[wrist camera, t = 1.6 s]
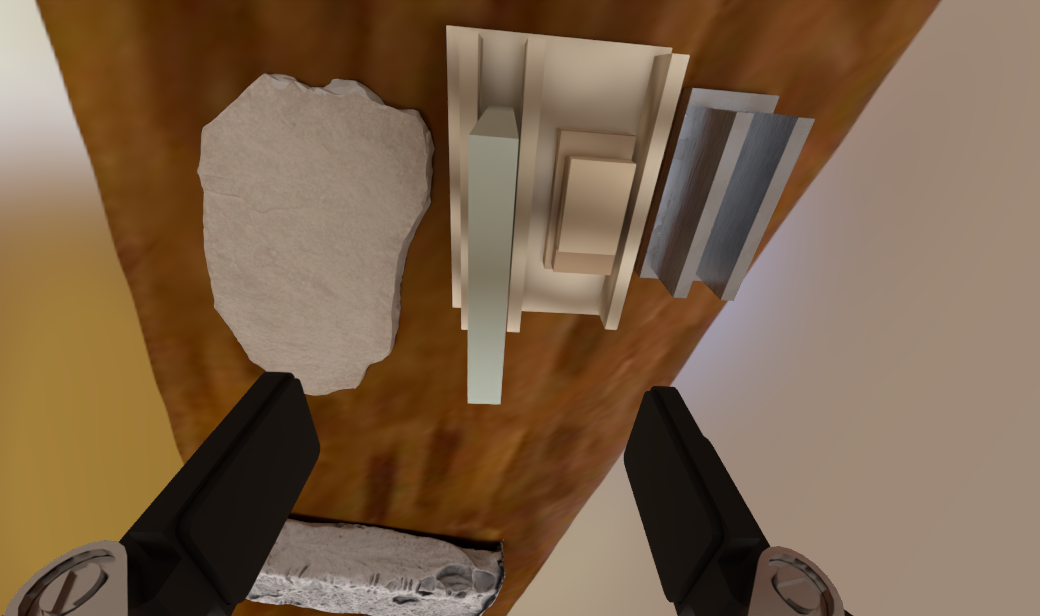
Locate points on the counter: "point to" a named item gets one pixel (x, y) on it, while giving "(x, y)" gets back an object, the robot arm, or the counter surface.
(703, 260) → the stand
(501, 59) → the rack
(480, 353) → the grey-green panel
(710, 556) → the robot arm
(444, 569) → the concrete block
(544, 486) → the counter surface
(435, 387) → the counter surface
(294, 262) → the stone tablet
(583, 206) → the offcut stack
